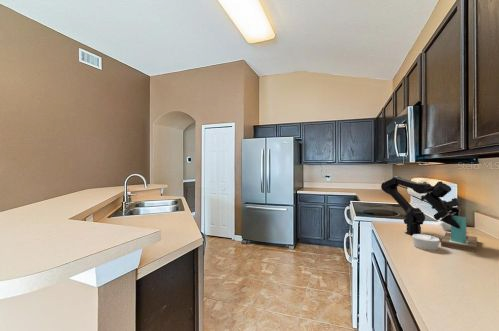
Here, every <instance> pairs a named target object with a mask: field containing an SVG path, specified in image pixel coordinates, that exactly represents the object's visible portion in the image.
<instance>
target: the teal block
mask: <svg viewBox="0 0 499 331" xmlns="http://www.w3.org/2000/svg"><path fill="white" fill-rule="evenodd" d="M452 217H453V219H454V220H455V221H456V222H457V224H458V225H459V226H460V228H459V229H458V228H456V227H454V226H452V225H451V231H450V233H451V241H454V242H458V243H465V242H466V235H467V217H466V216H461V215H460V216H452Z"/></svg>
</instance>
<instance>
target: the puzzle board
mask: <svg viewBox="0 0 499 331" xmlns="http://www.w3.org/2000/svg"><path fill="white" fill-rule="evenodd" d="M440 246H441V247H445V248H449V249H455V250H460V251H465V252H470V253H477V248H478V237H477V236H473V235H467V234H466V242H465V243H458V242H454V241H451V232H448V231H445V233H444V235H443V236H442V239H441V240H440Z"/></svg>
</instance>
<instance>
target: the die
mask: <svg viewBox="0 0 499 331" xmlns="http://www.w3.org/2000/svg"><path fill="white" fill-rule="evenodd" d="M439 226H440V227H441V228H442V230H443V231H445V232H451V225H449V224H447V223H445V222H443V221H440V223H439Z"/></svg>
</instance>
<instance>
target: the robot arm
mask: <svg viewBox="0 0 499 331" xmlns="http://www.w3.org/2000/svg"><path fill="white" fill-rule="evenodd" d="M399 186H403V187H406V188H409V189H411V190H413V192H415V193H416V194H420V201H421V202H423V201H425V202H427V203H428V204H429V205H430V206H431V209H432V210H433V209H434V210H435V211H436V213H435V214H433V219H434V220H436V221H440V222H441V221H443V222H445V223H447V224H449V225H452V226H454V227H456V228H458V229H459V228H460V226H459V225H458V224H457V222H456V221H455V220H454V219H453V217H452V216H461V215H460V214H461V211H462V209H461V208H460V207H459V206H462V205H463V204H462V200H460V198H457V197H454V198H452V199H451V200H450V201H449V200H448V201H446V200H442V199H441V198H444V197H446V195H447V194H449V193H450V192H452V187H451V186H450V185H448V184H446V183H445V182H443V181H438V182H436V183H435V185H431V183H427V182H418V181H412V180H409V179H406V178H402V177H400V176H394V177H392V178H390V179H388V180H386V181H385V182H382V183H381V185H380V189H381V190H382V191H383V192H384V193H386V194H388V195H390V196H391V197H392V199H393V200H395V202H396V203H397V204H398V205H399V206H400V207H401V209H403V211H404V213H405V216H406V217H405V218H404V219H403V223H404V224H405V225H406V231H404V233H405V234H407V235H409V236H412V235H414V234H422V227H421V225H423V224H424V222H425V220H426V215H425V214H424V212H423V211H422V210H421V208H420V207H413V206H412V204H411V203H409V201H408V200H407V199H406V198H405V197H404V196H403V195H402V194H401V193H400V192H399V190H398V187H399ZM421 194H422V195H421ZM423 194H424V195H423Z"/></svg>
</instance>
